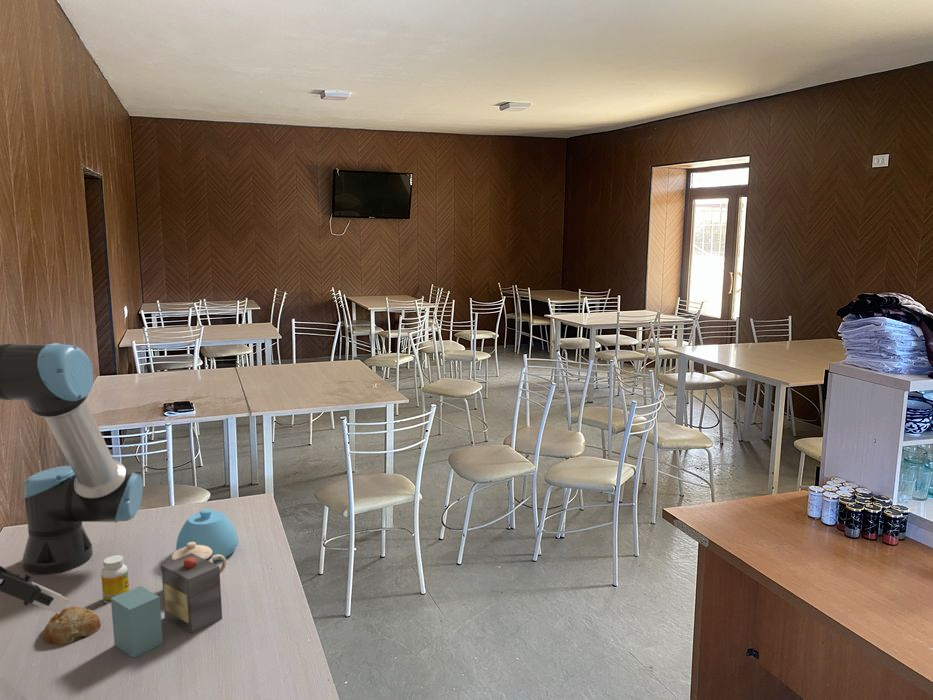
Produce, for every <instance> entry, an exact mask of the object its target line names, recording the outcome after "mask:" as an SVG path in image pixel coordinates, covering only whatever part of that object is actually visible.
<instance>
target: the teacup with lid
mask: <svg viewBox="0 0 933 700" xmlns="http://www.w3.org/2000/svg"><path fill="white" fill-rule="evenodd" d="M190 553H192V554H195V555H197V556H199V557H201V558H203V559H205V560H207V561H209V562H211V563H214V562H213V561H212V560H214V559H218V558H220V559H222V564H221V566H220V567H219V568H220V575H221V574H222V573H223V572H224V571H225V569H226V567H227V559H226V558H225V557H224V556H223V555H220V554H217V555H213V551H212V549H211V548H209V547H208V546H204V545H196V543H195V542H189V543H187V546H186V547H183V548H181V549H179V550H177V551H176V550H175V551H174V552H173V553H172V555H171V557H170V561H173V560H175V559H178V558H180V557H183V556H185V555H188V554H190Z"/></svg>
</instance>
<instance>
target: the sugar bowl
mask: <svg viewBox="0 0 933 700" xmlns="http://www.w3.org/2000/svg"><path fill="white" fill-rule="evenodd" d="M189 542H195V543H196V545H204V546H208V547H209V548H211V549H212V551H213V555H217V554H220V555H223V556H224V557H225V559H226V558H228V557H230V556H231V555H232V553H234V551H235V550H236V549H237V548H238V546H239V545H238V544H239V537H238V533H237V529H236V528H235V526H234V524H233V523H232V522H231V520H230V519H229V518H228V516H227V515H225V514H224V513H223V512H221V511H217V510H212V509H211V508H203V509H201V510H199V512H196V513H193V514H192V515H190V516H189V517H188V518H187V519H186V520H185V523H184V524H183V526H182V527H181V529H180V530H179V533H178V536H177V540H176V546H175V548H176V549H175V551H177V550H179V549H181V548H183V547H186V546H187V543H189ZM227 556H228V557H227ZM221 560H222V559H220V558H218V559H214V560H212V561H213V563H216V562H219V561H221ZM222 561H223V560H222Z"/></svg>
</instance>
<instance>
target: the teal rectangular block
mask: <svg viewBox="0 0 933 700" xmlns="http://www.w3.org/2000/svg"><path fill="white" fill-rule="evenodd" d="M160 597H161V596H159V595H157V594H156V593H153V592H152V591H151V590H148V589H147V588H144V587H143V586H141V585H139V586H137V587H134V588H132V589H129V591H127V592H125V593H122V594H120V595H117V596H115V597H112V598H111V603H110V606H111V615H112V616H111V618H112V619H111V620H112V628H113V640H114V646H115V647H116V648H118V649H120V650H121V651H123V652H124V653H125V654H127V655H128V656H130V657H131V658H132V659H134V658H137V657H139V656H141V655H143V654H145V653H147V652H148V651H151V650H153V649H154V648H157V647H159V646H161V645H163V644H164V641H163V639H164V638H163V625H162V614H161V613H162V612H161V611H162V610H161V600H160Z"/></svg>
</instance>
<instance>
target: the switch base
mask: <svg viewBox="0 0 933 700" xmlns="http://www.w3.org/2000/svg"><path fill="white" fill-rule="evenodd" d="M160 567H161V580H162V582H161V583H162V593H163V594H162V595H163V597H162V598H163V609H164V611H163V612H164V618H165V619H166V620H168V621H170V622H172V623H173V624H175V625H177V626H179V627H180V628H182V629H183V630H185V631H187V632H189V633H190V634H195V633H196V632H199V631H200V630H202V629H205V628H206V627H209V626H210V625H212V624H214V623H216V622H217V623H218V622H219V621H220V620H223V608H222V605H223V604H222V589H221V574H220V568H221V567H220V566H219V565H218V564H216V563H215V562H213V563H211V562H209V561H207V560H205V559H203V558H201V557H199V556H197V555H195V554H192V553H190V554H188V555H185V556H183V557H180V558H178V559H175V560H173V561H171V560H170V561H168V562H165V563H163V564H161V566H160Z"/></svg>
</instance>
